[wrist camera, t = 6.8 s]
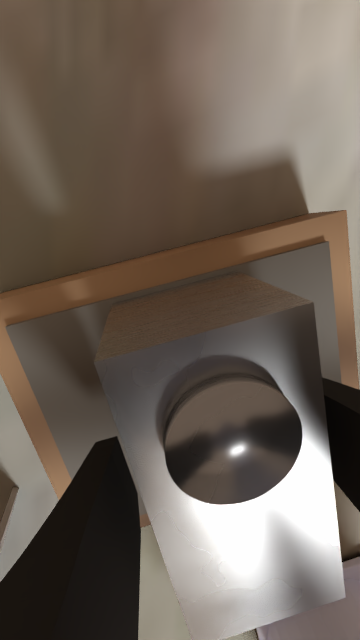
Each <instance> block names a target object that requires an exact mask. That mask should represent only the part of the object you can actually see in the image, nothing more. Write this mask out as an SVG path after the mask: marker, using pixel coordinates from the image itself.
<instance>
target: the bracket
mask: <svg viewBox="0 0 360 640" xmlns="http://www.w3.org/2000/svg"><path fill="white" fill-rule="evenodd" d="M18 489H19V488H17V487H13V488H12V491H11V494H10V497H9V500H8V503H7V505H6V508H5V511H4V514H3V517H2V519H1V522H0V554H1V551H2V547H3V543H4V540H5V536H6V533H7V529H8V525H9V522H10V518H11V515H12V511H13V507H14V504H15V500H16V497H17V493H18Z"/></svg>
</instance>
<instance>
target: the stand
mask: <svg viewBox="0 0 360 640" xmlns="http://www.w3.org/2000/svg"><path fill="white" fill-rule="evenodd" d="M233 271H238V272H241V273H243V274H246V275H248V276H251V277H253V278H256V279H258V280H260V281H263V282H265V283H268V284H270V285H273V286H275V287H278V288H280V289H283V290H285V291H288V292H290V293H293V294H295V295H298V296H300V297H303V298H305V299H308V300H310V301H313V302H314V310H315V319H316V328H317V337H318V347H319V356H320V365H321V374H322V377H323V378H326V379H329V380H332V381H335V382H338V383H341V384H344V385H347V386H350V387H353V388H356V389H359V381H358V367H357V353H356V339H355V325H354V311H353V297H352V282H351V268H350V254H349V240H348V226H347V212H346V210H341V211H330V212H319V213H309V214H306V215H302V216H298V217H294V218H290V219H286V220H282V221H278V222H274V223H271V224H267V225H263V226H259V227H255V228H251V229H247V230H243V231H240V232H236V233H232V234H228V235H224V236H220V237H216V238H212V239H208V240H205V241H201V242H197V243H193V244H189V245H185V246H181V247H177V248H174V249H170V250H166V251H162V252H158V253H154V254H150V255H146V256H142V257H139V258H135V259H131V260H127V261H123V262H119V263H115V264H111V265H108V266H104V267H100V268H96V269H92V270H88V271H84V272H80V273H76V274H73V275H69V276H65V277H61V278H57V279H53V280H49V281H45V282H41V283H38V284H34V285H30V286H26V287H22V288H18V289H14V290H10V291H7V292H3V293H0V374H1V376H2V378H3V380H4V382H5V384H6V387H7V389H8V391H9V393H10V395H11V397H12V400H13V402H14V404H15V406H16V408H17V410H18V413H19V415H20V417H21V419H22V421H23V423H24V425H25V428H26V430H27V432H28V434H29V436H30V438H31V441H32V443H33V445H34V447H35V449H36V451H37V453H38V456H39V458H40V460H41V462H42V464H43V466H44V469H45V471H46V473H47V475H48V477H49V479H50V482H51V484H52V486H53V488H54V490H55V492H56V494H57V497H58V499H59V500H60V498H61V497H62V495H63V494H64V492H65V490H66V489H67V487H68V486H69V484H70V483H71V481H72V479H73V478H74V476H75V474H76V473H77V471H78V470H79V468H80V466H81V465H82V463H83V461H84V460H85V458H86V457H87V455H88V453H89V452H90V450H91V448H92V447H93V445H94V444H95V442H98V441H101V440H105V439H108V438H112V437H115V436H117V437H118V440H119V443H120V445H121V448H122V451H123V454H124V456H125V459H126V462H127V465H128V468H129V470H130V473H131V476H132V479H133V481H134V484H135V487H136V490H137V493H138V503H139V515H140V528H141V527H144V526H147V525H151V522H150V520H149V517H148V514H147V511H146V508H145V505H144V503H143V500H142V497H141V494H140V491H139V488H138V486H137V483H136V480H135V477H134V474H133V472H132V469H131V466H130V463H129V460H128V457H127V455H126V452H125V449H124V446H123V443H122V440H121V438H120V435H119V432H118V429H117V426H116V424H115V421H114V418H113V415H112V412H111V409H110V407H109V404H108V401H107V398H106V395H105V392H104V390H103V387H102V384H101V381H100V378H99V376H98V373H97V370H96V367H95V364H94V360H95V357H96V354H97V350H98V347H99V344H100V341H101V338H102V334H103V331H104V328H105V325H106V321H107V318H108V315H109V312H110V308H111V305H112V303H115V302H119V301H123V300H126V299H130V298H134V297H138V296H142V295H145V294H149V293H153V292H157V291H161V290H164V289H168V288H172V287H176V286H180V285H183V284H187V283H191V282H195V281H199V280H202V279H206V278H210V277H214V276H218V275H221V274H225V273H229V272H233Z"/></svg>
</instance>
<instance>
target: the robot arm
mask: <svg viewBox="0 0 360 640" xmlns="http://www.w3.org/2000/svg"><path fill="white" fill-rule="evenodd" d="M322 383H323V393H324V402H325V411H326V420H327V429H328V439H329V448H330V457H331V466H332V475H333V480H334V481H335V482H336V484H337V485H338V486H339V487H340V488H341V490H342V491H343V492H344V493H345V495H346V496H347V497H348V498H349V499H350V501H351V502H352V503H353V504H354V506H355V507H356V508H357V509H358V510H359V512H360V390H359V389H356V388H353V387H350V386H347V385H344V384H341V383H338V382H335V381H332V380H329V379H326V378H323V377H322ZM140 545H141V529H140V515H139V503H138V493H137V490H136V487H135V484H134V481H133V479H132V476H131V473H130V470H129V468H128V465H127V462H126V459H125V456H124V454H123V451H122V448H121V445H120V443H119V440H118V437H117V436H115V437H112V438H108V439H105V440H101V441H98V442H95V444H94V445H93V447H92V448H91V450H90V452H89V453H88V455H87V457H86V458H85V460H84V461H83V463H82V465H81V466H80V468H79V470H78V471H77V473H76V474H75V476H74V478H73V479H72V481H71V483H70V484H69V486H68V487H67V489H66V490H65V492H64V494H63V495H62V497H61V498H60V500H59V501H58V503H57V504H56V506H55V508H54V509H53V511H52V512H51V514H50V515H49V516H48V518H47V519H46V521H45V522H44V524H43V525H42V526H41V528H40V529H39V531H38V532H37V534H36V535H35V536H34V538H33V539H32V541H31V542H30V544H29V545H28V547H27V548H26V549H25V551H24V552H23V553H22V555H21V556H20V558H19V559H18V560H17V562H16V563H15V564H14V565H13V567H12V568H11V569H10V571H9V572H8V573H7V575H6V576H5V577H4V578H3V580H2V581H1V582H0V640H138V620H139V584H140ZM342 567H343V576H344V586H345V595H346V598H343V599H340V600H337V601H334V602H331V603H328V604H325V605H322V606H320V607H317V608H314V609H311V610H308V611H305V612H302V613H299V614H296V615H293V616H290V617H287V618H284V619H281V620H279V621H276V622H273V623H270V624H267V625H264V626H261V627H258V628H256V630H257V634H258V638H259V640H360V557H357V558H354V559H351V560H348V561H345V562H342Z"/></svg>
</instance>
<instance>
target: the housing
mask: <svg viewBox="0 0 360 640" xmlns="http://www.w3.org/2000/svg"><path fill="white" fill-rule="evenodd" d="M94 364H95V367H96V370H97V373H98V376H99V378H100V381H101V384H102V387H103V390H104V392H105V395H106V398H107V401H108V404H109V407H110V409H111V412H112V415H113V418H114V421H115V424H116V426H117V429H118V432H119V435H120V438H121V440H122V443H123V446H124V449H125V452H126V455H127V457H128V460H129V463H130V466H131V469H132V472H133V474H134V477H135V480H136V483H137V486H138V488H139V491H140V494H141V497H142V500H143V503H144V505H145V508H146V511H147V514H148V517H149V520H150V522H151V525H152V528H153V531H154V534H155V537H156V539H157V542H158V545H159V548H160V551H161V553H162V556H163V559H164V562H165V565H166V568H167V570H168V573H169V576H170V579H171V582H172V585H173V587H174V590H175V593H176V596H177V599H178V601H179V604H180V607H181V610H182V613H183V616H184V618H185V621H186V624H187V627H188V630H189V633H190V635H191V638H192V640H223V639H226V638H229V637H232V636H235V635H238V634H240V633H243V632H246V631H249V630H252V629H255V628H258V627H261V626H264V625H267V624H270V623H273V622H276V621H279V620H281V619H284V618H287V617H290V616H293V615H296V614H299V613H302V612H305V611H308V610H311V609H314V608H317V607H320V606H322V605H325V604H328V603H331V602H334V601H337V600H340V599H343V598H346V595H345V586H344V576H343V567H342V558H341V549H340V540H339V530H338V521H337V512H336V503H335V494H334V485H333V475H332V466H331V457H330V448H329V439H328V429H327V420H326V411H325V402H324V393H323V383H322V374H321V365H320V356H319V347H318V337H317V328H316V319H315V310H314V302H313V301H310V300H308V299H305V298H303V297H300V296H298V295H295V294H293V293H290V292H288V291H285V290H283V289H280V288H278V287H275V286H273V285H270V284H268V283H265V282H263V281H260V280H258V279H256V278H253V277H251V276H248V275H246V274H243V273H241V272H238V271H233V272H229V273H225V274H221V275H218V276H214V277H210V278H206V279H202V280H199V281H195V282H191V283H187V284H183V285H180V286H176V287H172V288H168V289H164V290H161V291H157V292H153V293H149V294H145V295H142V296H138V297H134V298H130V299H126V300H123V301H119V302H115V303H112V305H111V308H110V312H109V315H108V318H107V321H106V325H105V328H104V331H103V334H102V338H101V341H100V344H99V347H98V350H97V354H96V357H95V360H94Z"/></svg>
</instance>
